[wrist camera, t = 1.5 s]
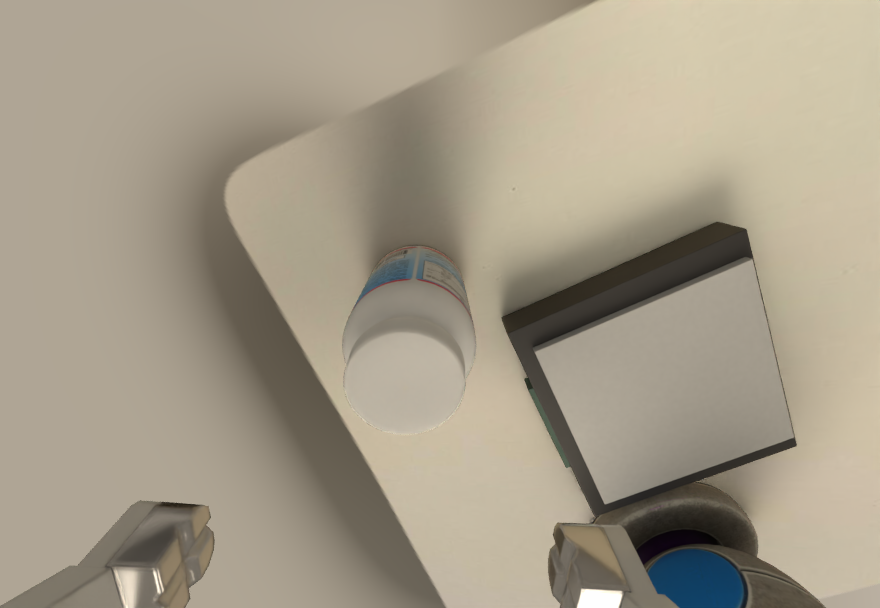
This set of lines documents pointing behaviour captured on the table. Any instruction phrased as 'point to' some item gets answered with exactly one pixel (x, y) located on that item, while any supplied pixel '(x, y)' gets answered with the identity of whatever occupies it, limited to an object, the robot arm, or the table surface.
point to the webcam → (705, 552)
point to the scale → (657, 369)
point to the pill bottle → (409, 343)
